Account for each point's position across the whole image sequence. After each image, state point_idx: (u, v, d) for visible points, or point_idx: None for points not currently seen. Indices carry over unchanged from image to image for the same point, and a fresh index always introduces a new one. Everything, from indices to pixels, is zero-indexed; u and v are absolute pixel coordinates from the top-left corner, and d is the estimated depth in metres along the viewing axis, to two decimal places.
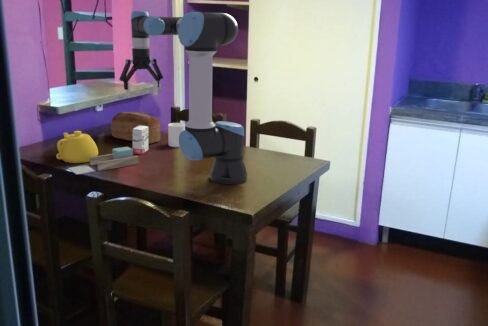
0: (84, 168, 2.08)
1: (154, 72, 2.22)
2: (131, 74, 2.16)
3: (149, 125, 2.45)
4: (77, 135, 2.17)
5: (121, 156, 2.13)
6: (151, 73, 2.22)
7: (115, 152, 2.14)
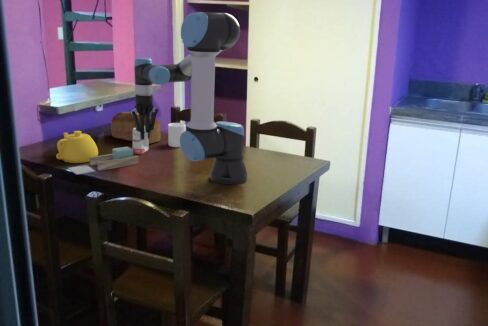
0: (84, 168, 2.08)
1: (149, 122, 2.19)
2: (143, 123, 2.17)
3: None
4: (77, 135, 2.17)
5: (121, 156, 2.13)
6: (146, 121, 2.19)
7: (115, 152, 2.14)
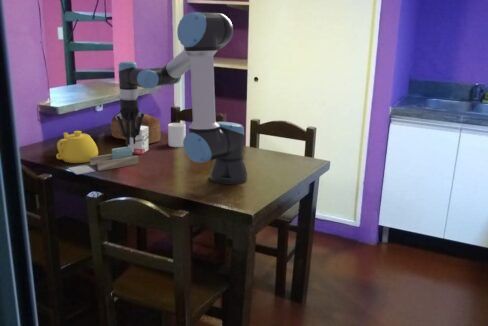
0: (84, 168, 2.08)
1: (135, 127, 2.15)
2: (128, 128, 2.14)
3: (149, 125, 2.45)
4: (77, 135, 2.17)
5: (120, 156, 2.13)
6: (131, 126, 2.15)
7: (114, 152, 2.13)
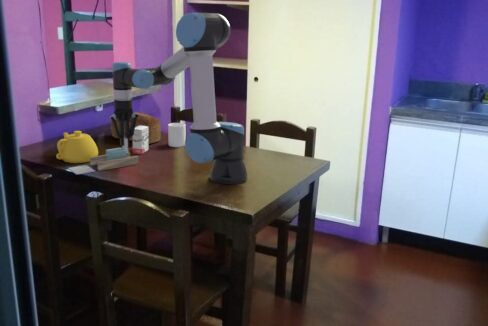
0: (84, 168, 2.08)
1: (129, 128, 2.14)
2: (122, 129, 2.12)
3: (149, 125, 2.45)
4: (77, 135, 2.17)
5: (114, 157, 2.11)
6: (126, 127, 2.14)
7: (108, 153, 2.12)
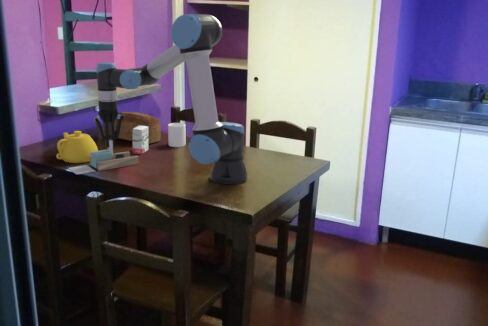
0: (84, 168, 2.08)
1: (114, 130, 2.10)
2: (107, 130, 2.08)
3: (149, 125, 2.45)
4: (77, 135, 2.17)
5: (99, 159, 2.07)
6: (111, 129, 2.10)
7: (93, 155, 2.08)
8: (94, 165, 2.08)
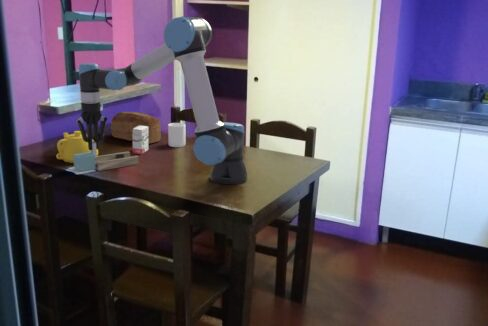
0: None
1: (97, 132, 2.05)
2: (90, 133, 2.04)
3: (149, 125, 2.45)
4: (77, 135, 2.17)
5: (82, 162, 2.03)
6: (94, 131, 2.05)
7: (75, 158, 2.03)
8: (77, 168, 2.04)
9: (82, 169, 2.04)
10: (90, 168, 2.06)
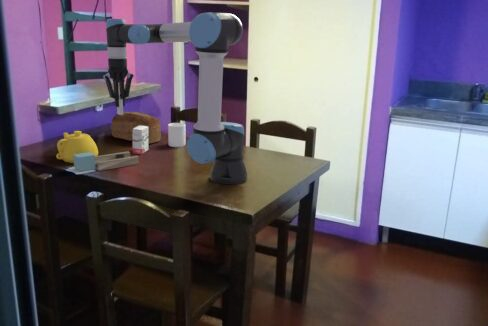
0: None
1: None
2: (117, 89, 2.04)
3: (149, 125, 2.45)
4: (77, 135, 2.17)
5: (82, 162, 2.03)
6: (120, 87, 2.06)
7: (75, 158, 2.03)
8: (77, 168, 2.04)
9: (82, 169, 2.04)
10: (90, 168, 2.06)
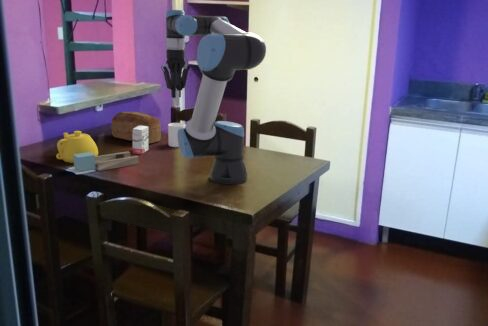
0: None
1: (181, 79, 2.07)
2: (174, 80, 2.06)
3: (149, 125, 2.45)
4: (77, 135, 2.17)
5: (82, 162, 2.03)
6: (177, 78, 2.07)
7: (75, 158, 2.03)
8: (77, 168, 2.04)
9: (82, 169, 2.04)
10: (90, 168, 2.06)
